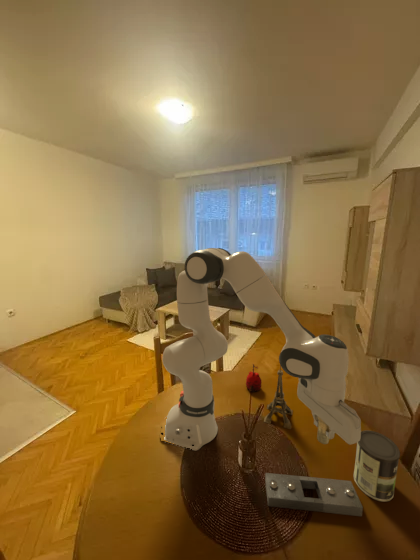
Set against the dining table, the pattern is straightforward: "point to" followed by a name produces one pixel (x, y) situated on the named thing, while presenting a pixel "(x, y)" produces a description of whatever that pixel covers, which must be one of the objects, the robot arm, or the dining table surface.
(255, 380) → the red rounded piece
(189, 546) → the dining table surface
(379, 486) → the coffee can
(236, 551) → the dining table surface
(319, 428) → the pin
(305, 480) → the grey peg board
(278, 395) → the eiffel tower
